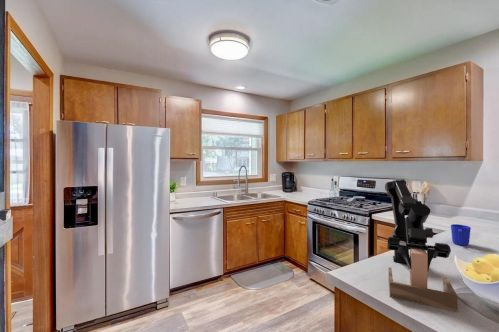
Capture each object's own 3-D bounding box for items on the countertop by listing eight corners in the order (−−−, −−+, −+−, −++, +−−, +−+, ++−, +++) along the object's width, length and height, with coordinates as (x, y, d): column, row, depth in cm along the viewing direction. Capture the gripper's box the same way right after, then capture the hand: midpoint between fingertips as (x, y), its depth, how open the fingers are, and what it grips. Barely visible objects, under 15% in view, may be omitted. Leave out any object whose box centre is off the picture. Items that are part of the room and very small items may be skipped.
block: (410, 283, 87) (410, 248, 86) (425, 286, 85) (425, 250, 84) (411, 289, 83) (411, 252, 82) (427, 292, 81) (427, 255, 80)
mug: (449, 246, 128) (450, 227, 127) (451, 240, 137) (451, 223, 136) (470, 250, 122) (470, 230, 122) (470, 243, 131) (470, 225, 131)
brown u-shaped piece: (388, 279, 93) (388, 267, 93) (446, 291, 84) (446, 277, 84) (389, 296, 82) (389, 282, 82) (457, 311, 73) (457, 295, 73)
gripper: (387, 216, 91) (388, 254, 82) (449, 221, 82) (458, 265, 73) (386, 230, 98) (387, 267, 89) (444, 237, 89) (451, 279, 80)
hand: (419, 269), depth 82 cm, fingers closed on block, 4 cm apart
